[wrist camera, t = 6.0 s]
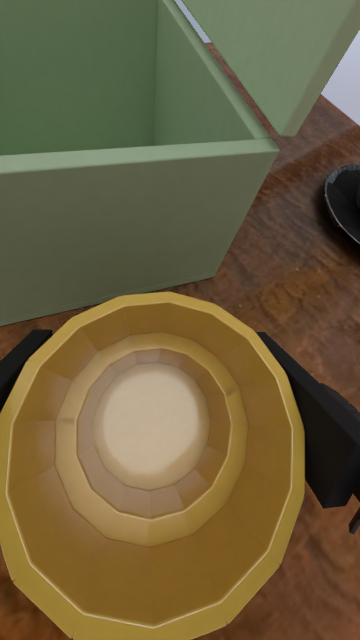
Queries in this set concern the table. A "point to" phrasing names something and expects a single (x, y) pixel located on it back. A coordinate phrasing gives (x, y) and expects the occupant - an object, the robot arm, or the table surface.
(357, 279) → the table surface
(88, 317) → the bowl
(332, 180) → the soup bowl
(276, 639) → the table surface
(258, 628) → the table surface
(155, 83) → the chest
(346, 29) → the chest lid
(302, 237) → the table surface
